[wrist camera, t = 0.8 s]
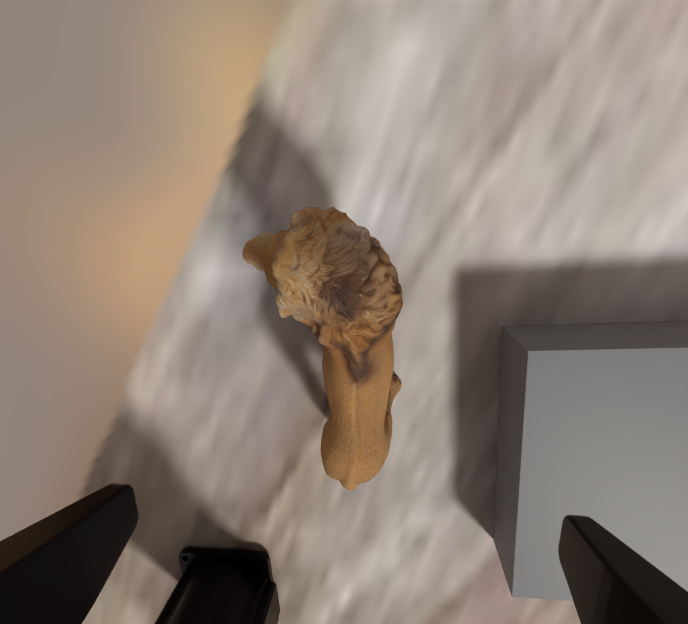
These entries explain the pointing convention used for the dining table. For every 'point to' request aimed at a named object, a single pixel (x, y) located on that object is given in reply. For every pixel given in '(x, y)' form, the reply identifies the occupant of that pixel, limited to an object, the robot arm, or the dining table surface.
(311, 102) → the dining table surface
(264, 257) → the lion figurine
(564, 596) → the grey block
